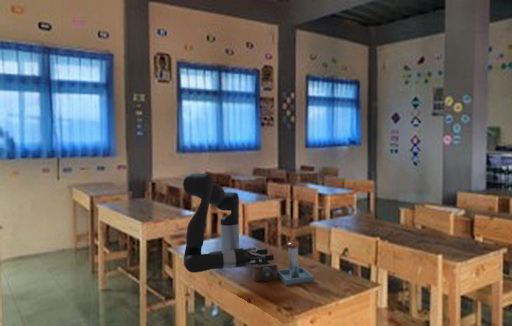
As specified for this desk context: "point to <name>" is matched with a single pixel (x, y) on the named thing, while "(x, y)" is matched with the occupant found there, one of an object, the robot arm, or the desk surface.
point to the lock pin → (293, 259)
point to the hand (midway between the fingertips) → (270, 254)
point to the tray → (303, 278)
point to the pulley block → (263, 271)
